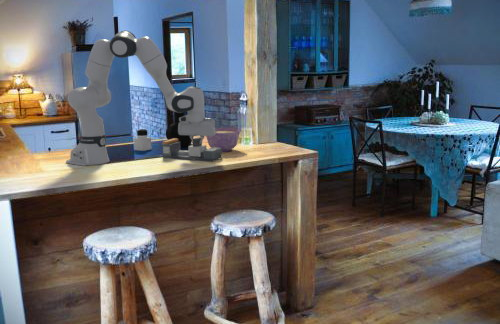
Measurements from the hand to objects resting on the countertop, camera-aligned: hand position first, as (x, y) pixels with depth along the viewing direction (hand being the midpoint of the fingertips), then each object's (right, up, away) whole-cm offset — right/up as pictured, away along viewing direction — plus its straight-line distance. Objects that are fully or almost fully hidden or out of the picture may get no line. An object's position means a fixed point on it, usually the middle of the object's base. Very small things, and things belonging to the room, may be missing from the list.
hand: (197, 143), depth 260 cm
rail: (-3, -7, +3) cm, 9 cm away
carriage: (0, -6, +1) cm, 6 cm away
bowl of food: (+12, -3, +23) cm, 26 cm away
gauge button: (-15, +1, +7) cm, 17 cm away
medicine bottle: (-35, -3, +30) cm, 46 cm away
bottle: (-15, 0, +41) cm, 44 cm away
